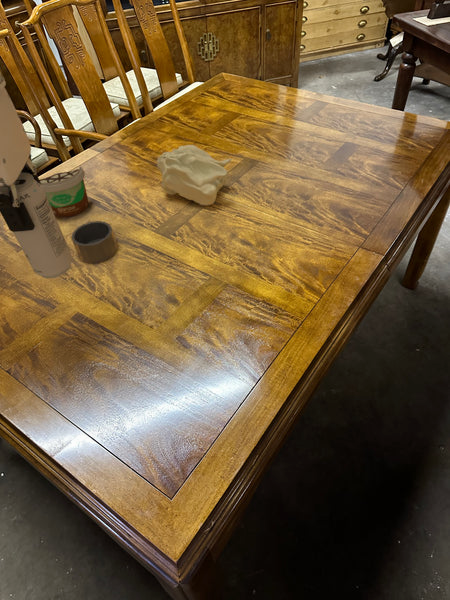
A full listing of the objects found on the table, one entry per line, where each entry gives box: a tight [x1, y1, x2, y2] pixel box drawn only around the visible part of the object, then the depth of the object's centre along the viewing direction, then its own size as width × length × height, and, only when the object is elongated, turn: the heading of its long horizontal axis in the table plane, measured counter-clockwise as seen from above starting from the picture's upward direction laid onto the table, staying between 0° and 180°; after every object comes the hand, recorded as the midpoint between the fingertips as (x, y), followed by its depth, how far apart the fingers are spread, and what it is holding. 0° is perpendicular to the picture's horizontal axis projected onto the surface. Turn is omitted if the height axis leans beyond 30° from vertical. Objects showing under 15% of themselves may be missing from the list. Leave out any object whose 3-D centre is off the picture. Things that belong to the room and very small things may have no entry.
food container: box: [39, 166, 90, 218], centre depth 102 cm, size 12×6×10 cm, turn 114°
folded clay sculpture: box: [156, 144, 232, 207], centre depth 103 cm, size 18×13×16 cm
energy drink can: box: [0, 173, 73, 279], centre depth 60 cm, size 6×6×15 cm
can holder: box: [70, 220, 119, 264], centre depth 92 cm, size 9×9×5 cm
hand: (29, 214), depth 58 cm, fingers closed on energy drink can, 6 cm apart
